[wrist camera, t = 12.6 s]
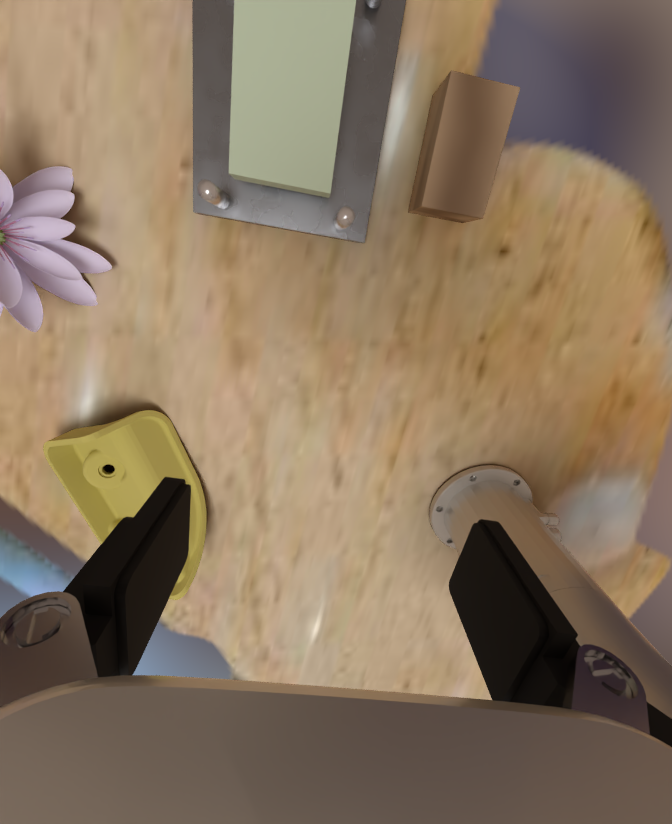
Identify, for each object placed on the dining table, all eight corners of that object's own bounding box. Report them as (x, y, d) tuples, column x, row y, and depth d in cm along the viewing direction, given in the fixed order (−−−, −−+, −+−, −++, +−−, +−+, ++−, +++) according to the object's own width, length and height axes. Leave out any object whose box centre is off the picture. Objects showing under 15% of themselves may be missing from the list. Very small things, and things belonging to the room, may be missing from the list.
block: (492, 109, 28) (520, 87, 24) (462, 222, 31) (482, 218, 27) (432, 95, 27) (451, 70, 23) (408, 212, 30) (421, 206, 27)
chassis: (404, -5, 25) (430, -80, 19) (362, 243, 31) (373, 240, 25) (199, -61, 23) (164, -160, 18) (198, 214, 29) (173, 204, 24)
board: (355, -2, 22) (359, -25, 20) (329, 198, 26) (330, 193, 25) (242, -32, 21) (236, -60, 19) (234, 179, 26) (228, 173, 24)
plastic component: (35, 442, 34) (92, 436, 30) (104, 411, 40) (161, 401, 36) (130, 590, 41) (189, 603, 36) (178, 544, 47) (233, 550, 42)
